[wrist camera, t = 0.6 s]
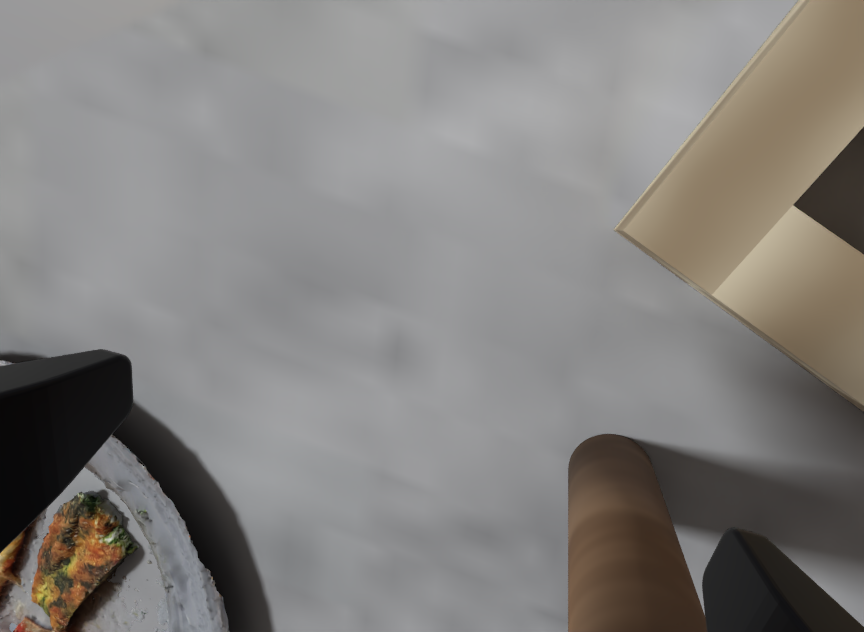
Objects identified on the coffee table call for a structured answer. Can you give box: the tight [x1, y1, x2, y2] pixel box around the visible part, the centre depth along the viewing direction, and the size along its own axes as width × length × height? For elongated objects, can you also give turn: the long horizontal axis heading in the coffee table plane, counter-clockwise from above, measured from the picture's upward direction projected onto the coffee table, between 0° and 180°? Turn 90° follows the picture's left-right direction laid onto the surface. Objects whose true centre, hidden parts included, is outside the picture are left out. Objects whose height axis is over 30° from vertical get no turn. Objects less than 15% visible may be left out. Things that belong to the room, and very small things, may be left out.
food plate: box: [0, 360, 230, 632], centre depth 27 cm, size 25×23×4 cm
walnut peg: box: [568, 434, 707, 632], centre depth 15 cm, size 3×3×11 cm
